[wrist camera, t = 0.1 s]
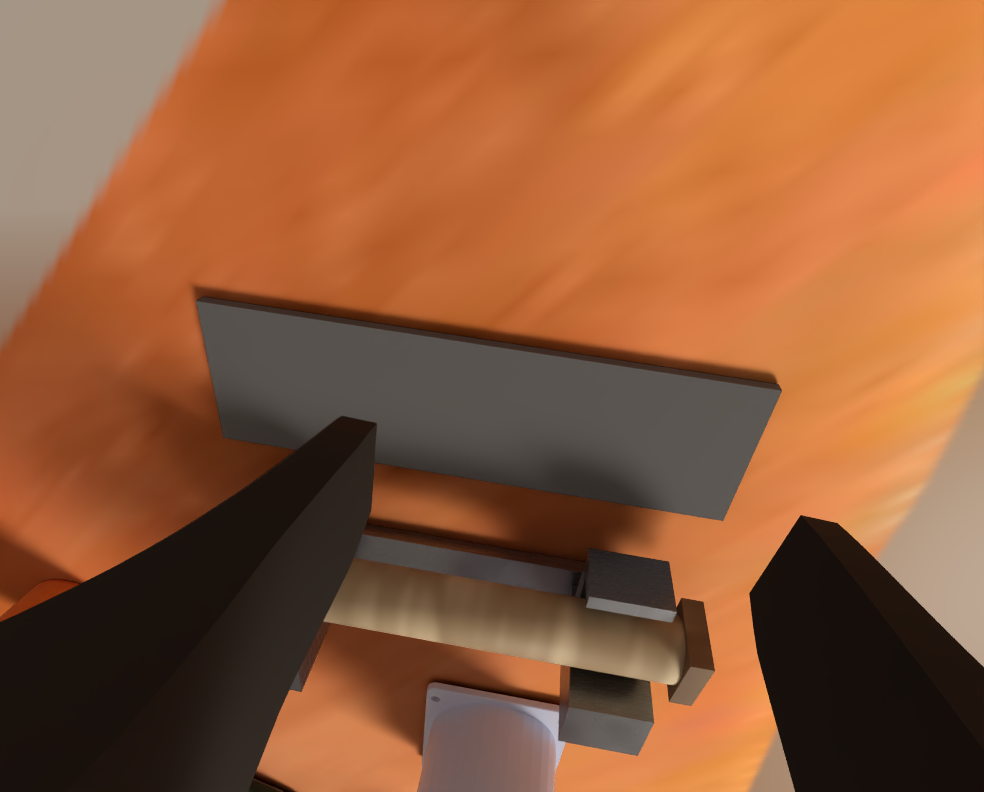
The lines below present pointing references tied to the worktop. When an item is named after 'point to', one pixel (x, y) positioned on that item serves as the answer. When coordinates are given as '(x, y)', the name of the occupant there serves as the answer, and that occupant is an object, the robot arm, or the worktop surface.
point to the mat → (488, 407)
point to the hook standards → (600, 580)
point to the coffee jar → (262, 787)
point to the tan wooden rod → (528, 625)
